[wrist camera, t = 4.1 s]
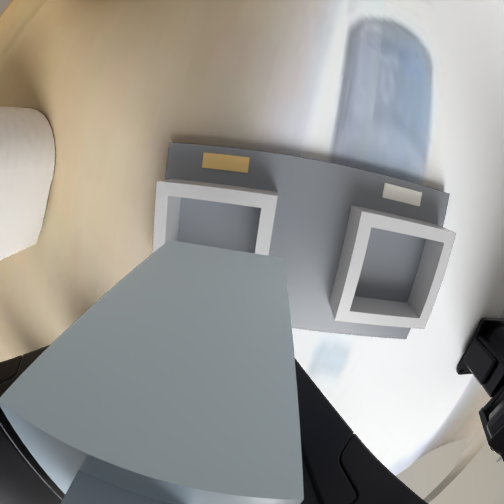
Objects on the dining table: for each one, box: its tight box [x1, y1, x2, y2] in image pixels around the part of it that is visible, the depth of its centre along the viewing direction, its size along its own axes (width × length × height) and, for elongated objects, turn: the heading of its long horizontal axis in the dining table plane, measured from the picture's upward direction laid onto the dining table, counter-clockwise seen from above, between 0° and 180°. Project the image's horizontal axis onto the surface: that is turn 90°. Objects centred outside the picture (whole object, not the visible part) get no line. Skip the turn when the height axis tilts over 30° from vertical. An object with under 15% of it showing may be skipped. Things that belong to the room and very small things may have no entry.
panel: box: [153, 143, 456, 339], centre depth 18 cm, size 20×12×3 cm, turn 83°
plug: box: [0, 240, 304, 504], centre depth 6 cm, size 4×4×9 cm
